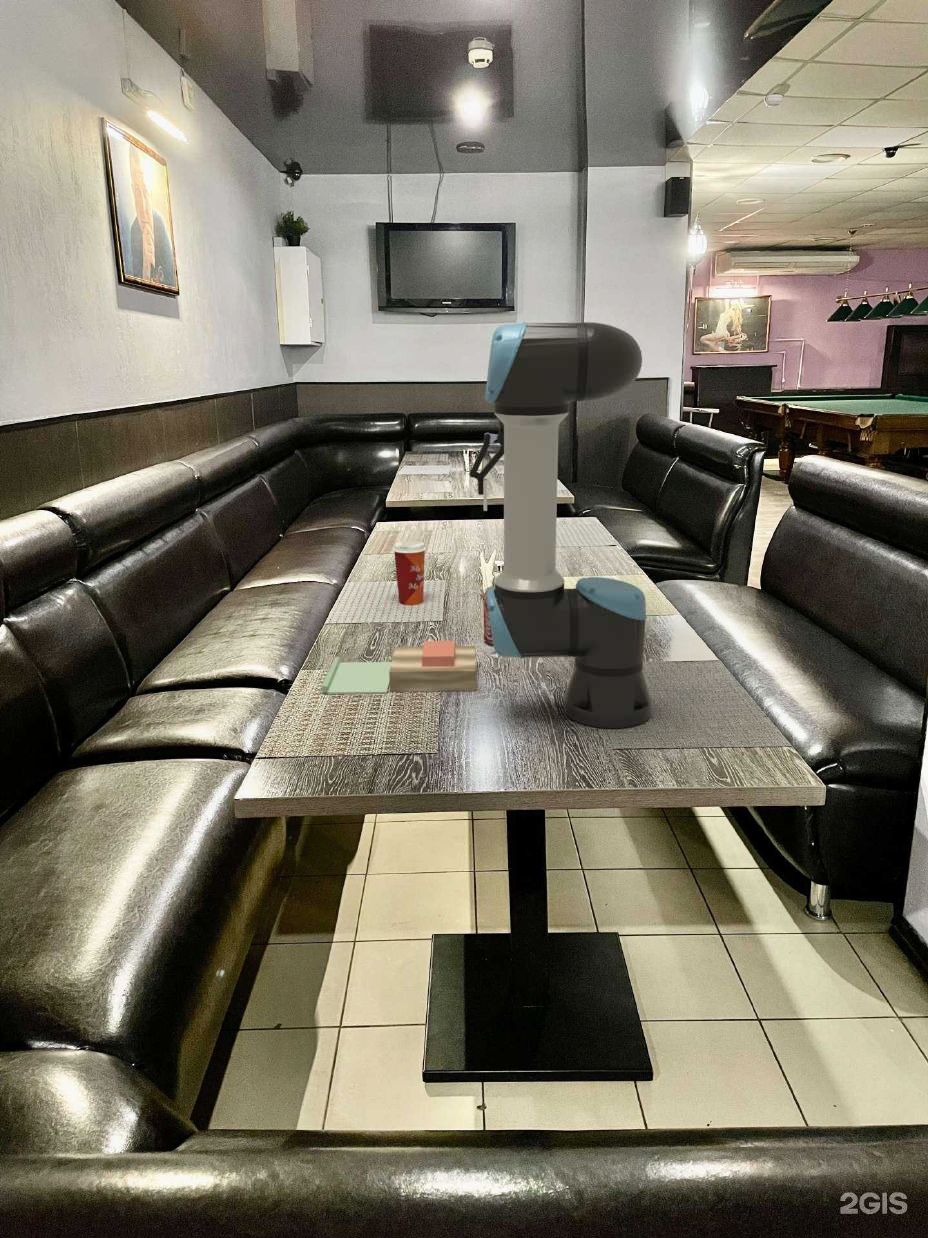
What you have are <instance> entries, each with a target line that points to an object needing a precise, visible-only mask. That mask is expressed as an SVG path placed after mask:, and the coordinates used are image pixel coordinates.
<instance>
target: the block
mask: <svg viewBox="0 0 928 1238" xmlns="http://www.w3.org/2000/svg"><path fill="white" fill-rule="evenodd" d="M455 646H456V642H455V640H424V641H423V646H422V647H423V653H422V667H437V666H454V659H455Z"/></svg>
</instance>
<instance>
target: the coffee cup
mask: <svg viewBox="0 0 928 1238" xmlns="http://www.w3.org/2000/svg"><path fill="white" fill-rule="evenodd" d="M426 550H427V548H426V546H425V543H424V542H423V541H419V540H402V541H397V542H396V543H394V546H393V549H392V551H393V553H394V562H395V573H396V580H397V581H396V583H397V594H398V601H399V603H400V605H404V606H417V605H421V604H422V603H423V602H424V589H425V588H424V586H425V585H424V584H425V581H424V580H425V559H426V557H425V553H426V552H425V551H426Z"/></svg>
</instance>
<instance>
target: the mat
mask: <svg viewBox="0 0 928 1238" xmlns="http://www.w3.org/2000/svg"><path fill="white" fill-rule="evenodd" d="M391 663H392V661H371V662H370V661H368V662H366V661H365V662H364V661H359V662H357V661H356V662H354V661H353V662H350V661H349V662H345V661H344V662H341V657H340V656H334V657H333V660H332V663H331V665H330V667H329V669H328V672H327V674H326V676H325V678H324V681H323V683H322V685H321V693H322V695H378V694H379V695H380V694H381V695H383V694H384V695H387V694H388V690H389V688H390V679H389V671H390V667H391Z"/></svg>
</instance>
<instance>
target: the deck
mask: <svg viewBox="0 0 928 1238" xmlns="http://www.w3.org/2000/svg"><path fill="white" fill-rule="evenodd" d="M423 647H424V646H395V647H394V651H393V655H392V659H391V662H392V663H391V667H390V671H389V679H390V683H389V692H391V693H393V692H398V693H401V692H403V693H404V692H406V693H407V692H412V693H413V692H476V686H477V685H476V646H475V645H464V646H463V645H462V646H461V645H460V646H459V645H455V659H454V666H437V667H422V653H423Z"/></svg>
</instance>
